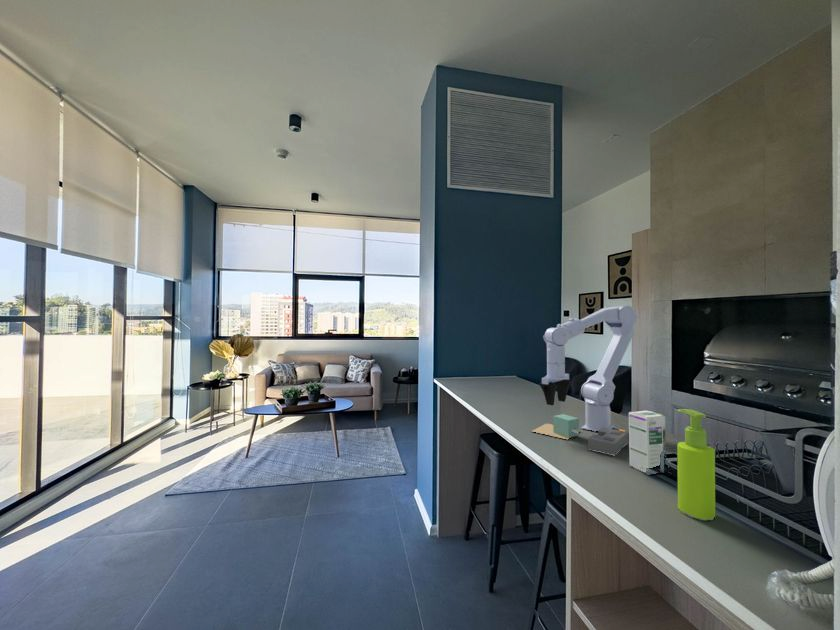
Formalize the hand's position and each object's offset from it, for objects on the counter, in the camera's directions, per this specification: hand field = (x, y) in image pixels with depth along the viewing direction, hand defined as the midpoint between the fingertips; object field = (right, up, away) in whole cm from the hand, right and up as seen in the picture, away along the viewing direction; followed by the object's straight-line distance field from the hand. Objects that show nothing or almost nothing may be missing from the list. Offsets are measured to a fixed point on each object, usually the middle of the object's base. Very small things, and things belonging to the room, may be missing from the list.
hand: (556, 402), depth 121 cm
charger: (+2, -9, -5) cm, 11 cm away
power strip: (+10, -10, -14) cm, 20 cm away
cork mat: (0, -10, -1) cm, 10 cm away
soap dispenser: (+8, -10, -50) cm, 52 cm away
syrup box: (+11, -10, -31) cm, 34 cm away
